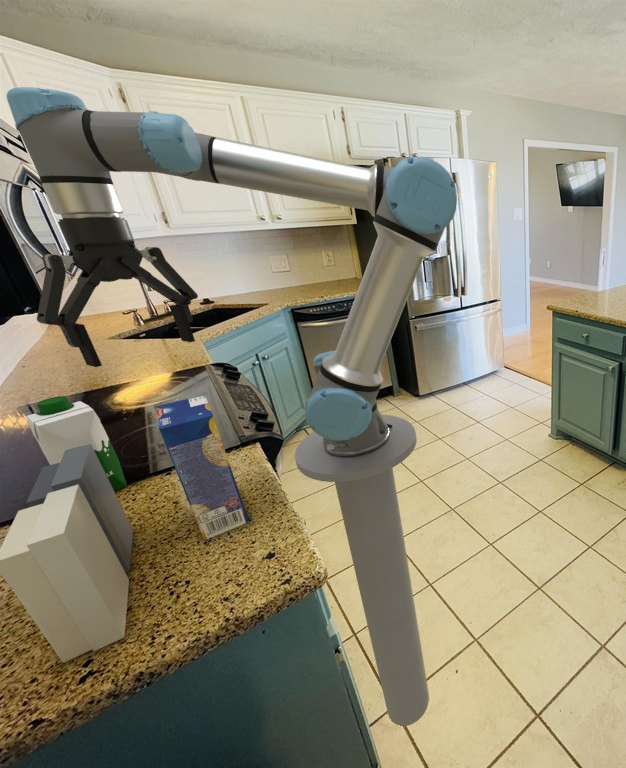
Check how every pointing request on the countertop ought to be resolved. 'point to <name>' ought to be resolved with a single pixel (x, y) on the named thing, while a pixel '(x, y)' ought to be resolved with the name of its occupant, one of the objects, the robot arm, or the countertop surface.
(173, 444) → the beverage box
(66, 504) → the cream books
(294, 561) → the countertop surface
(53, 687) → the countertop surface
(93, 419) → the milk carton
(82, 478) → the grey books
